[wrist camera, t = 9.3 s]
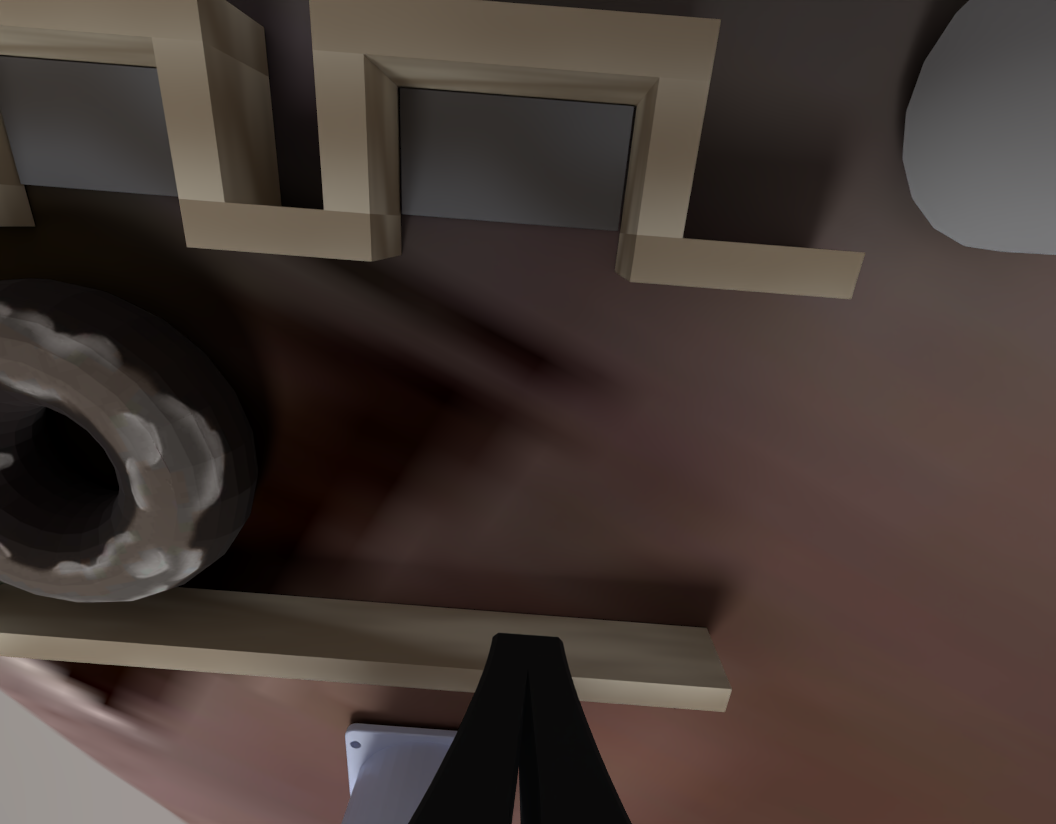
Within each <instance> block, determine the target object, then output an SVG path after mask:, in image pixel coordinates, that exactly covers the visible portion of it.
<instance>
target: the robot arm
mask: <svg viewBox="0 0 1056 824" xmlns="http://www.w3.org/2000/svg"><path fill="white" fill-rule="evenodd" d="M345 741H346V752H347V764H348V775H349V787H350V800H349V803H348V806H347V809H346V812H345V815H344V818H343V821H342V824H512V816H513V808H514V800H515V792H516V784H517V776H518V768H519V786H520V818H521V824H632V823H631V821H630V819H629V817H628V815H627V813H626V811H625V809H624V807H623V805H622V802H621V800H620V798H619V796H618V794H617V792H616V789H615V787H614V785H613V783H612V781H611V778H610V776H609V774H608V772H607V769H606V767H605V765H604V762H603V760H602V758H601V755H600V753H599V750H598V748H597V745H596V743H595V740H594V738H593V735H592V733H591V730H590V728H589V725H588V723H587V720H586V718H585V715H584V712H583V709H582V707H581V704H580V701H579V698H578V695H577V692H576V689H575V686H574V683H573V679H572V676H571V673H570V669H569V666H568V662H567V658H566V654H565V649H564V644H563V641H562V640H561V639H560V638H559V637H551V636H538V635H524V634H511V633H497V634H496V635H494V636H493V637H492V642H491V647H490V651H489V654H488V658H487V661H486V664H485V667H484V670H483V672H482V675H481V678H480V680H479V683H478V686H477V688H476V691H475V693H474V696H473V698H472V700H471V702H470V705H469V707H468V709H467V711H466V714H465V716H464V718H463V720H462V722H461V725H460V727H459V729H458V731H453V730H440V729H427V728H414V727H401V726H388V725H375V724H362V723H354V724H351V725H349V727H348V728H347V731H346V734H345Z"/></svg>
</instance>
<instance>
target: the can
mask: <svg viewBox="0 0 1056 824" xmlns="http://www.w3.org/2000/svg"><path fill="white" fill-rule="evenodd" d="M902 159H903V163H904V167H905V172H906V176H907V180H908V184H909V188H910V192H911V196H912V199H913V200H914V202H915V203H916V204H917V206H918V207H919V209H920V210H921V211H922V213H923V214H924V216H925V217H926V218H927V220H928V221H929V222H930V224H931V225H932V227H933V228H934V229H936V230H938V231H939V232H941V233H943V234H945V235H946V236H948V237H950V238H951V239H953V240H955V241H956V242H958V243H960V244H962V245H963V246H967V247H973V248H980V249H987V250H994V251H1001V252H1015V253H1032V254H1049V255H1056V0H969V1H968V2H967V3H966V4H965V5H964V6H963V7H962V8H961V9H960V10H959V11H957V12H956V14H955V15H954V17H953V18H952V20H951V21H950V23H949V24H948V26H947V27H946V29H945V30H944V32H943V34H942V35H941V37H940V38H939V40H938V41H937V43H936V44H935V46H934V47H933V49H932V50H931V52H930V53H929V55H928V56H927V58H926V60H925V61H924V63H923V66H922V69H921V72H920V74H919V77H918V80H917V83H916V86H915V88H914V91H913V94H912V97H911V100H910V102H909V105H908V108H907V111H906V119H905V131H904V144H903V157H902Z"/></svg>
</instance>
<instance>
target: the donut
mask: <svg viewBox="0 0 1056 824" xmlns="http://www.w3.org/2000/svg"><path fill="white" fill-rule="evenodd" d="M46 407H48V408H50V409H52V410H54V411H57V412H59V413H61V414H63V415H66V416H67V417H69V418H70V419H71V420H73V421H74V422H76V423H77V424H78V425H80V426H81V427H83V428H84V429H85V430H87V431H88V432H89V433H90V434H91V436H92V437H93V438H94V439H95V440H96V441H97V442H98V443H99V444H100V445H101V446H102V447H103V449H104V450H105V452H106V454H107V456H108V457H109V459H110V461H111V463H112V464H113V466H114V468H115V472H116V476H117V480H118V483H119V491H113V490H108V489H106V488H104V487H101V486H99V485H97V484H94V483H92V482H90V481H89V480H87V479H86V478H84V477H83V476H81V475H80V474H79V473H77V472H76V471H74V470H73V469H72V468H71V467H70V466H69V464H68V463H67V462H66V461H65V460H64V459H63V458H62V457H61V456H60V454H59V453H58V451H57V450H56V448H55V446H54V445H53V443H52V441H51V439H50V436H49V433H48V429H47V426H46ZM257 478H258V465H257V457H256V450H255V443H254V436H253V431H252V428H251V426H250V424H249V422H248V419H247V417H246V415H245V413H244V410H243V408H242V406H241V404H240V402H239V399H238V397H237V395H236V393H235V391H234V389H233V388H232V387H231V386H230V384H229V383H228V382H227V380H226V379H225V378H224V377H223V375H222V374H221V373H220V372H219V370H218V369H217V368H216V367H215V365H214V364H213V363H212V361H211V360H210V359H209V358H208V356H207V355H206V354H205V353H204V352H203V351H202V350H201V349H200V348H198V347H197V346H196V345H195V344H193V343H192V342H191V341H190V340H188V339H187V338H186V337H185V336H183V335H182V334H181V333H180V332H179V331H177V330H176V329H175V328H174V327H172V326H171V325H170V324H169V323H167V322H166V321H165V320H164V319H162V318H160V317H158V316H156V315H153V314H151V313H149V312H147V311H145V310H143V309H141V308H139V307H137V306H135V305H133V304H131V303H129V302H127V301H125V300H123V299H121V298H119V297H117V296H114V295H112V294H110V293H107V292H105V291H102V290H97V289H92V288H88V287H83V286H79V285H74V284H69V283H65V282H60V281H56V280H51V279H36V278H27V279H13V280H0V581H2V582H4V583H7V584H9V585H12V586H15V587H17V588H20V589H22V590H25V591H27V592H30V593H33V594H35V595H40V596H46V597H51V598H57V599H62V600H68V601H73V602H88V603H92V602H118V601H134V600H137V599H140V598H144V597H147V596H150V595H153V594H156V593H159V592H162V591H166V590H169V589H172V588H175V587H178V586H181V585H184V584H185V583H186V582H188V581H189V580H191V579H192V578H193V577H195V576H196V575H197V574H199V573H200V572H201V571H203V570H204V569H205V568H207V567H208V566H210V565H211V564H212V563H214V562H215V561H216V560H218V559H219V558H220V557H222V556H223V555H225V553H226V552H227V550H228V549H229V547H230V546H231V544H232V542H233V541H234V539H235V538H236V536H237V535H238V533H239V531H240V530H241V528H242V527H243V525H244V524H245V522H246V520H247V519H248V517H249V516H250V514H251V509H252V503H253V498H254V493H255V488H256V483H257Z"/></svg>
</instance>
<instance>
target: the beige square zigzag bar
mask: <svg viewBox="0 0 1056 824" xmlns="http://www.w3.org/2000/svg"><path fill="white" fill-rule="evenodd" d="M309 6H310V20H311V34H312V48H313V62H314V76H315V91H316V105H317V119H318V133H319V147H320V161H321V175H322V190H323V204H324V210H321V209H309V208H296V207H283V206H282V205H281V195H280V185H279V175H278V164H277V154H276V144H275V134H274V124H273V114H272V104H271V94H270V84H269V74H268V64H267V54H266V43H265V33H264V27H263V26H261V25H260V24H258V23H257V22H256V21H254V20H253V19H251V18H250V17H249V16H247V15H246V14H244V13H243V12H242V11H240V10H239V9H237V8H236V7H234V6H233V5H232V4H230V3H229V2H227V1H226V0H0V227H4V226H35V223H34V220H33V216H32V212H31V209H30V205H29V201H28V197H27V194H26V190H25V186H24V184H25V185H38V186H50V187H63V188H76V189H88V190H101V191H114V192H127V193H139V194H152V195H165V196H177V197H179V203H180V209H181V215H182V221H183V227H184V233H185V239H186V245H187V247H192V248H205V249H218V250H230V251H243V252H256V253H269V254H281V255H294V256H307V257H320V258H332V259H345V260H358V261H371V262H372V261H377V260H381V259H386V258H391V257H395V256H400V255H401V205H400V151H399V98H398V87H400V122H401V178H402V214H406V215H419V216H432V217H444V218H457V219H470V220H483V221H495V222H508V223H521V224H533V225H546V226H559V227H572V228H584V229H597V230H610V231H618V225H619V218H620V210H621V202H622V195H623V187H624V180H625V172H626V164H627V157H628V149H629V141H630V134H631V126H632V118H633V111H634V106H636V114H635V121H634V129H633V137H632V144H631V152H630V159H629V167H628V174H627V182H626V190H625V197H624V205H623V212H622V220H621V227H620V235H619V242H618V250H617V258H616V265H615V272H616V273H617V274H619V275H620V276H622V277H623V278H625V279H626V280H628V281H629V282H638V283H651V284H664V285H676V286H689V287H702V288H715V289H727V290H740V291H753V292H766V293H778V294H791V295H804V296H817V297H829V298H842V299H851V298H852V295H853V291H854V288H855V285H856V282H857V278H858V275H859V272H860V269H861V265H862V262H863V259H864V255H865V253H863V252H851V251H839V250H828V249H816V248H805V247H792V246H779V245H766V244H754V243H741V242H728V241H716V240H703V239H690V238H683V233H684V227H685V222H686V216H687V210H688V205H689V199H690V193H691V188H692V182H693V176H694V171H695V165H696V159H697V154H698V148H699V142H700V137H701V131H702V125H703V119H704V114H705V108H706V102H707V97H708V91H709V85H710V80H711V74H712V68H713V63H714V57H715V51H716V46H717V40H718V34H719V29H720V23H721V19H710V18H697V17H684V16H672V15H659V14H647V13H634V12H621V11H609V10H596V9H584V8H571V7H558V6H546V5H533V4H521V3H508V2H495V1H483V0H309ZM4 56H8V57H4ZM17 57H21V58H17ZM29 58H34V59H29ZM42 59H46V60H42ZM54 60H59V61H54ZM67 61H72V62H67ZM80 62H84V63H80ZM92 63H97V64H92ZM105 64H110V65H105ZM118 65H122V66H118ZM130 66H135V67H130ZM143 67H148V68H143ZM156 68H157V69H156ZM409 88H413V89H409ZM421 89H426V90H421ZM434 90H438V91H434ZM447 91H451V92H447ZM459 92H464V93H459ZM472 93H476V94H472ZM485 94H489V95H485ZM497 95H502V96H497ZM510 96H514V97H510ZM522 97H527V98H522ZM535 98H540V99H535ZM548 99H552V100H548ZM560 100H565V101H560ZM573 101H578V102H573ZM586 102H590V103H586ZM598 103H603V104H598ZM611 104H615V105H611ZM624 105H628V106H624ZM497 633H511V634H524V635H538V636H551V637H559V638H560V639H561V640H562V641H563V644H564V649H565V654H566V658H567V662H568V666H569V669H570V673H571V676H572V679H573V683H574V686H575V689H576V692H577V695H578V698H579V701H590V702H603V703H616V704H629V705H642V706H655V707H668V708H681V709H694V710H707V711H720V712H725V710H726V707H727V703H728V700H729V697H730V694H731V690H732V688H731V686H730V684H729V681H728V679H727V676H726V674H725V671H724V669H723V666H722V664H721V662H720V659H719V657H718V654H717V652H716V649H715V647H714V644H713V642H712V640H711V637H710V635H709V632H708V630H707V628H701V627H688V626H675V625H662V624H649V623H636V622H623V621H610V620H597V619H584V618H571V617H558V616H545V615H532V614H520V613H507V612H494V611H481V610H468V609H455V608H442V607H429V606H416V605H403V604H390V603H377V602H364V601H351V600H339V599H326V598H313V597H300V596H287V595H274V594H261V593H248V592H235V591H222V590H209V589H196V588H183V587H175V588H172V589H169V590H166V591H162V592H159V593H156V594H153V595H150V596H147V597H144V598H140V599H137V600H134V601H118V602H92V603H88V602H73V601H68V600H62V599H57V598H51V597H46V596H40V595H35V594H33V593H30V592H27V591H25V590H22V589H20V588H17V587H15V586H12V585H9V584H7V583H4V582H2V581H0V656H6V657H19V658H32V659H45V660H58V661H71V662H84V663H97V664H110V665H123V666H136V667H148V668H161V669H174V670H187V671H200V672H213V673H226V674H239V675H252V676H265V677H278V678H291V679H304V680H317V681H330V682H343V683H356V684H369V685H382V686H395V687H408V688H421V689H434V690H447V691H460V692H473V693H475V691H476V688H477V686H478V683H479V680H480V678H481V675H482V672H483V670H484V667H485V664H486V661H487V658H488V654H489V651H490V647H491V642H492V637H493V636H494V635H496V634H497Z"/></svg>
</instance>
